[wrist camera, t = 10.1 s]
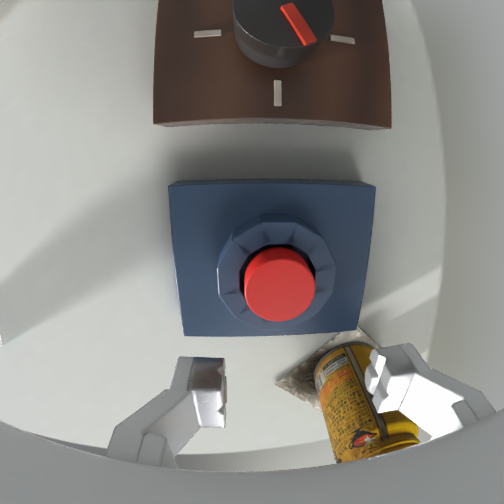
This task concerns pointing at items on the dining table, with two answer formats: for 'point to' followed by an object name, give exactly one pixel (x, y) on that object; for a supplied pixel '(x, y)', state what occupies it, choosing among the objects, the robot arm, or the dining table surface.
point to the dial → (281, 29)
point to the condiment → (349, 399)
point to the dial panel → (269, 71)
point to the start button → (278, 284)
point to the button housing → (264, 237)
